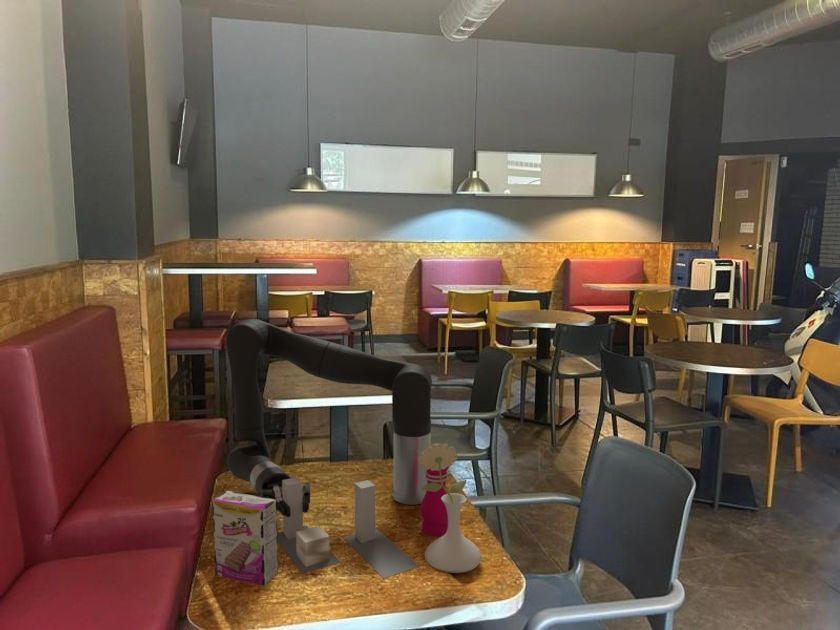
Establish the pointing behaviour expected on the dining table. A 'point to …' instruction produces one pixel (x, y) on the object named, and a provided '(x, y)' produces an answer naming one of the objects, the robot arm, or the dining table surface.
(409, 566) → the grey base with post
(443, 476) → the pepper mill
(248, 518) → the candy bar box
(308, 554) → the pale block
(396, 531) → the dining table surface
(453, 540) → the flower in vase
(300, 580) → the dining table surface
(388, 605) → the dining table surface
